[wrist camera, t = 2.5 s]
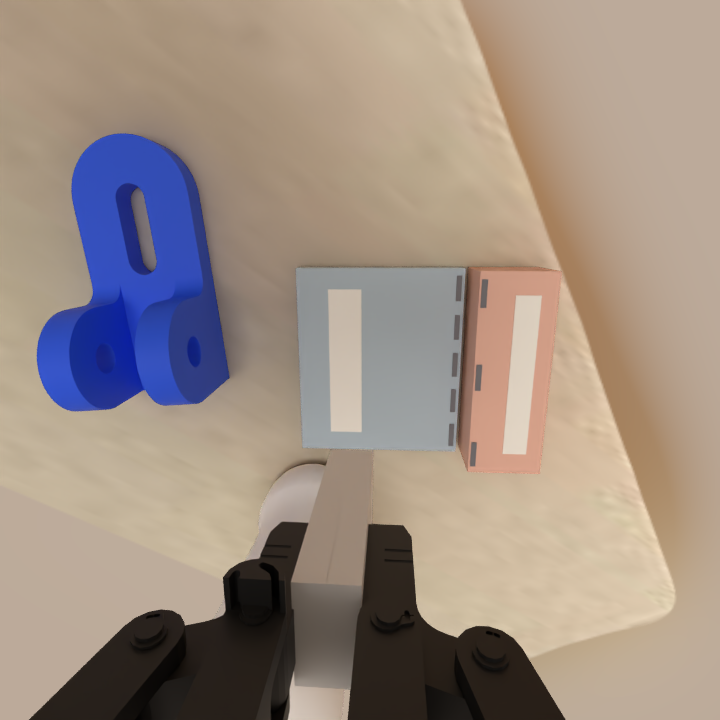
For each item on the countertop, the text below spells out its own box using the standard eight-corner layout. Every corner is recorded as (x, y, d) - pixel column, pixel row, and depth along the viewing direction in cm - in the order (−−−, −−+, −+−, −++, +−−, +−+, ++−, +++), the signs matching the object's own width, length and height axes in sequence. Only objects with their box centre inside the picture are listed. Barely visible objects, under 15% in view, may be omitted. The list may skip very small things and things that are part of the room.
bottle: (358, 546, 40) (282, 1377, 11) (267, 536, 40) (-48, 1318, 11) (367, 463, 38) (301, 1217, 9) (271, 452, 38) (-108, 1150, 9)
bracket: (230, 376, 36) (181, 419, 28) (131, 383, 37) (54, 427, 28) (189, 134, 32) (116, 94, 23) (78, 146, 33) (-34, 112, 24)
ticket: (299, 266, 34) (295, 268, 32) (462, 266, 33) (465, 268, 31) (305, 439, 37) (302, 448, 36) (452, 443, 37) (455, 452, 35)
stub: (468, 267, 33) (480, 271, 28) (538, 267, 33) (562, 271, 28) (458, 444, 36) (467, 472, 32) (521, 445, 36) (540, 474, 32)
